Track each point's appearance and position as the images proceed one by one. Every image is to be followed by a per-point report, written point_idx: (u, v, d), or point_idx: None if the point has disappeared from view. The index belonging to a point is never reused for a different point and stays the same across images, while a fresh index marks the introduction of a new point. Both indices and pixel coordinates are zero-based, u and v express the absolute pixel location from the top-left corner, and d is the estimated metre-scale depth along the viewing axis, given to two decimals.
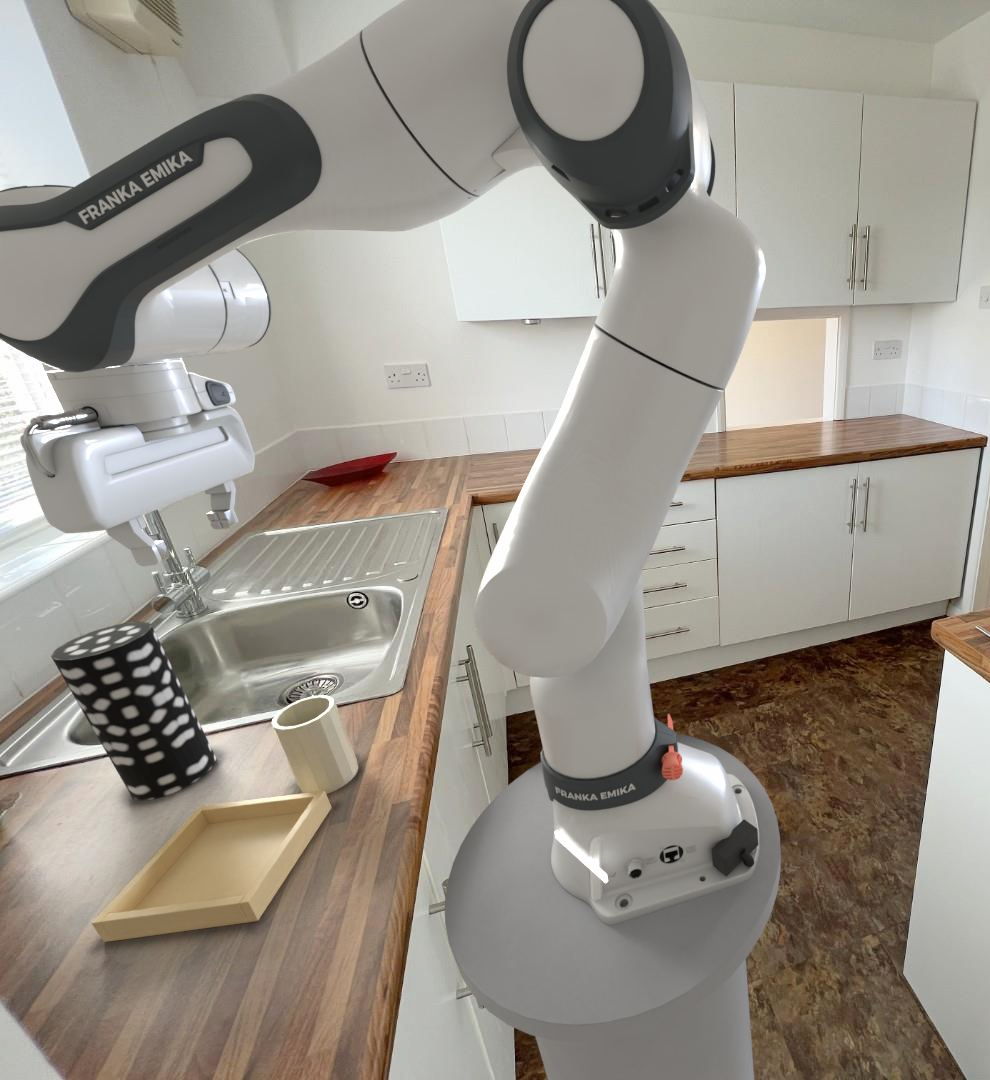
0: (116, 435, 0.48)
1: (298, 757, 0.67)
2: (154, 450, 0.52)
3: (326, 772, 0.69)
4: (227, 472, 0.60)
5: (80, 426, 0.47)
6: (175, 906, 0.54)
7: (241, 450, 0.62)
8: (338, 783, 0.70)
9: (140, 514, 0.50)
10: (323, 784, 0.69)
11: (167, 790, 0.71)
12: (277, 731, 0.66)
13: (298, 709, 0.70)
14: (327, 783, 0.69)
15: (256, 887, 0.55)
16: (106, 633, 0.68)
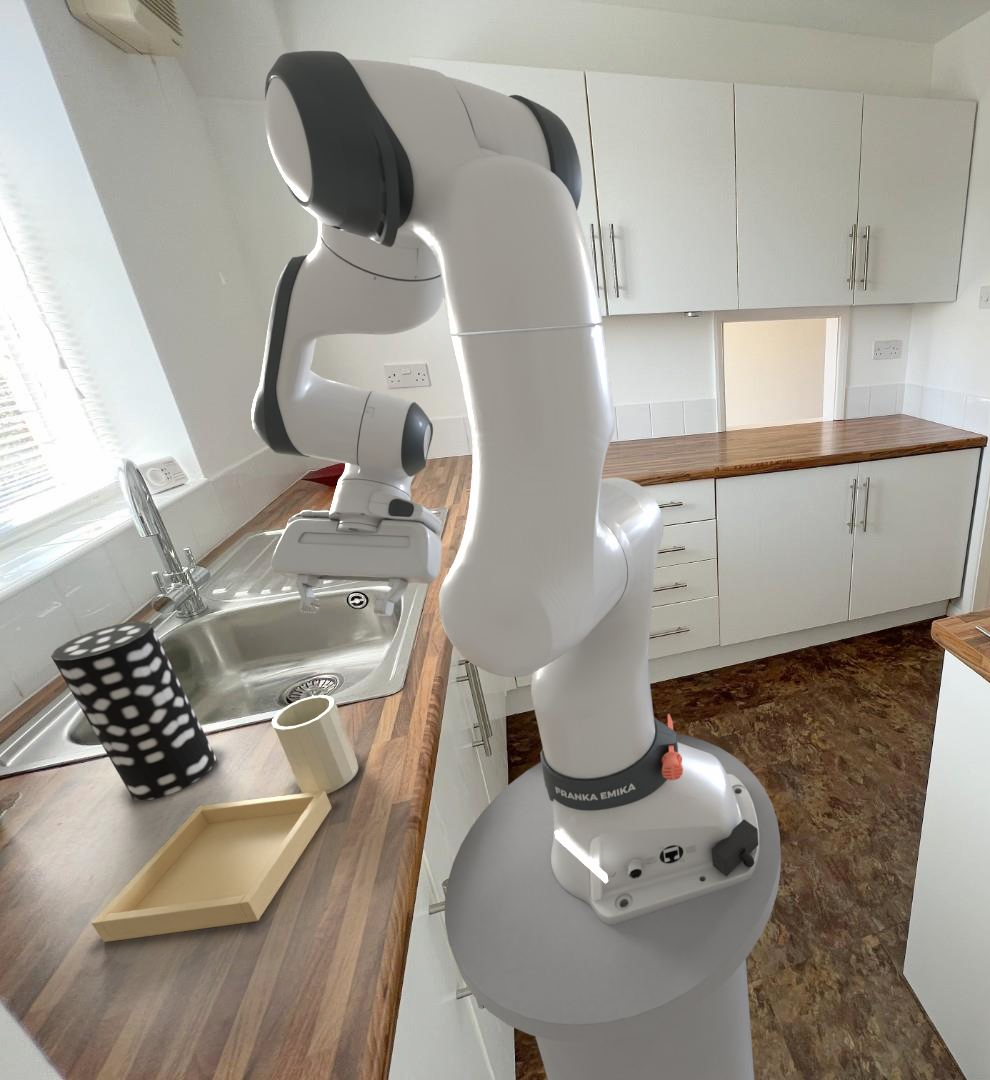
0: (320, 522, 0.76)
1: (298, 757, 0.67)
2: (342, 538, 0.76)
3: (326, 772, 0.69)
4: (388, 568, 0.74)
5: (320, 518, 0.78)
6: (175, 906, 0.54)
7: (414, 557, 0.75)
8: (338, 783, 0.70)
9: (299, 571, 0.74)
10: (323, 784, 0.69)
11: (167, 790, 0.71)
12: (277, 731, 0.66)
13: (298, 709, 0.70)
14: (327, 783, 0.69)
15: (256, 887, 0.55)
16: (106, 633, 0.68)
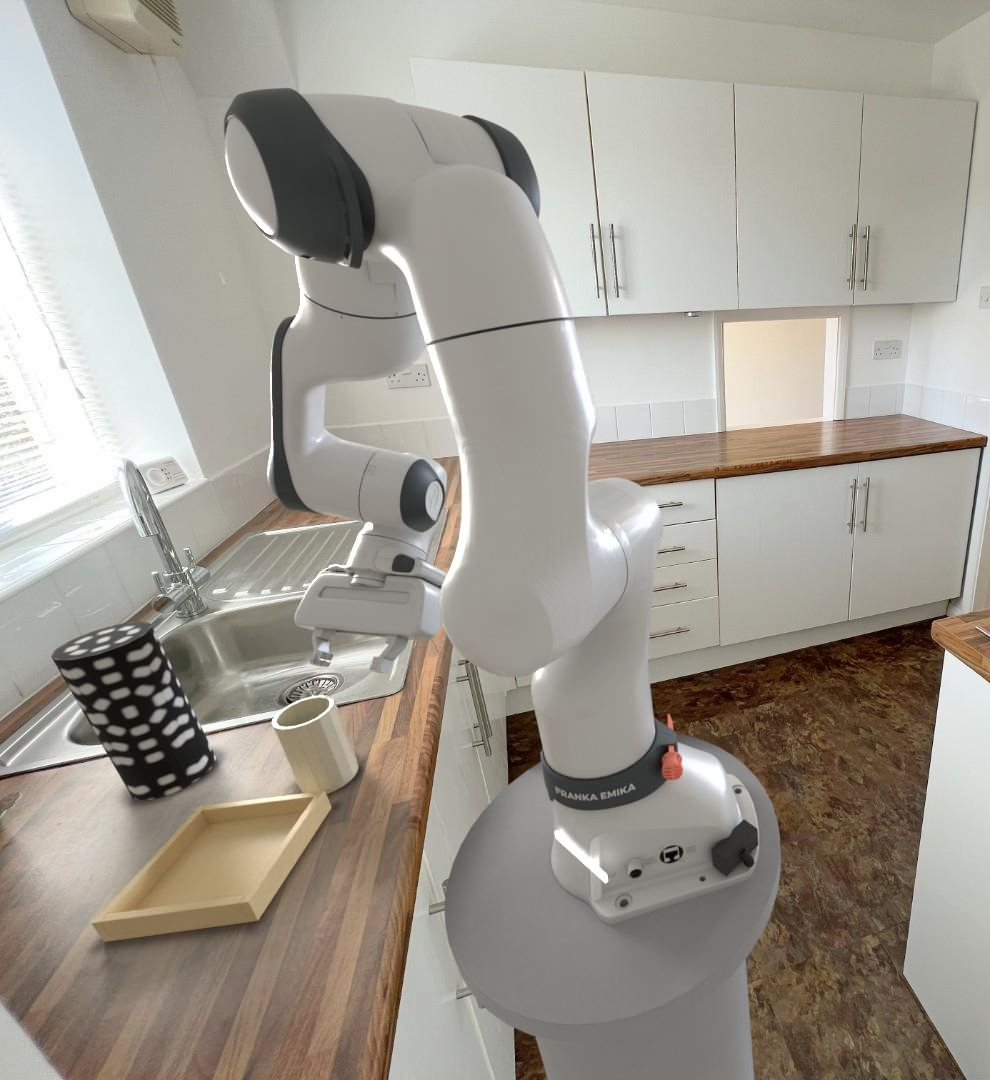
0: (338, 577, 0.78)
1: (298, 757, 0.67)
2: (354, 593, 0.77)
3: (326, 772, 0.69)
4: (386, 625, 0.73)
5: (343, 573, 0.80)
6: (175, 906, 0.54)
7: (410, 614, 0.73)
8: (338, 783, 0.70)
9: (314, 625, 0.76)
10: (323, 784, 0.69)
11: (167, 790, 0.71)
12: (277, 731, 0.66)
13: (298, 709, 0.70)
14: (327, 783, 0.69)
15: (256, 887, 0.55)
16: (106, 633, 0.68)
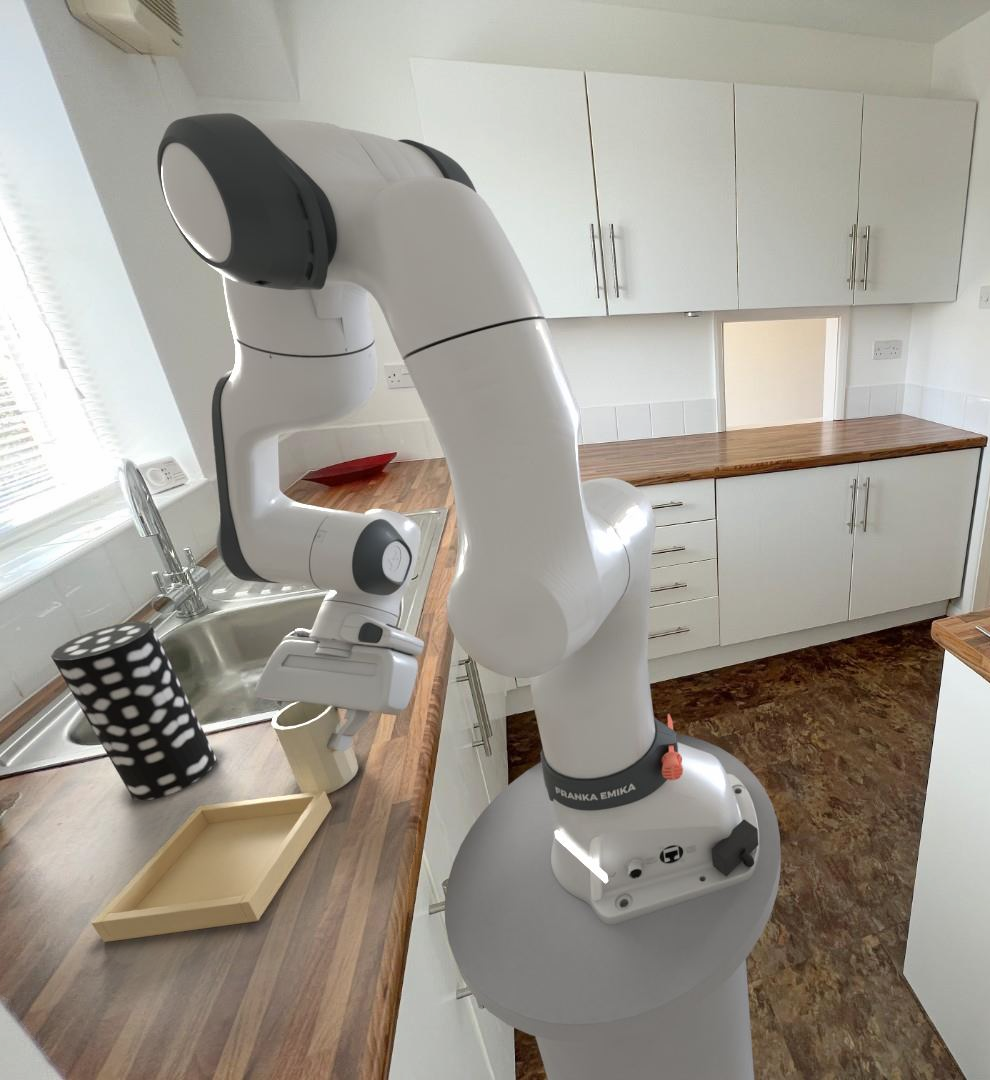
0: (303, 644, 0.73)
1: (298, 757, 0.67)
2: (319, 663, 0.72)
3: (325, 772, 0.69)
4: (352, 700, 0.69)
5: (309, 638, 0.75)
6: (175, 906, 0.54)
7: (377, 688, 0.69)
8: (338, 783, 0.70)
9: (276, 697, 0.71)
10: (323, 784, 0.69)
11: (167, 790, 0.71)
12: (277, 731, 0.66)
13: (298, 709, 0.70)
14: (327, 783, 0.69)
15: (256, 887, 0.55)
16: (106, 633, 0.68)
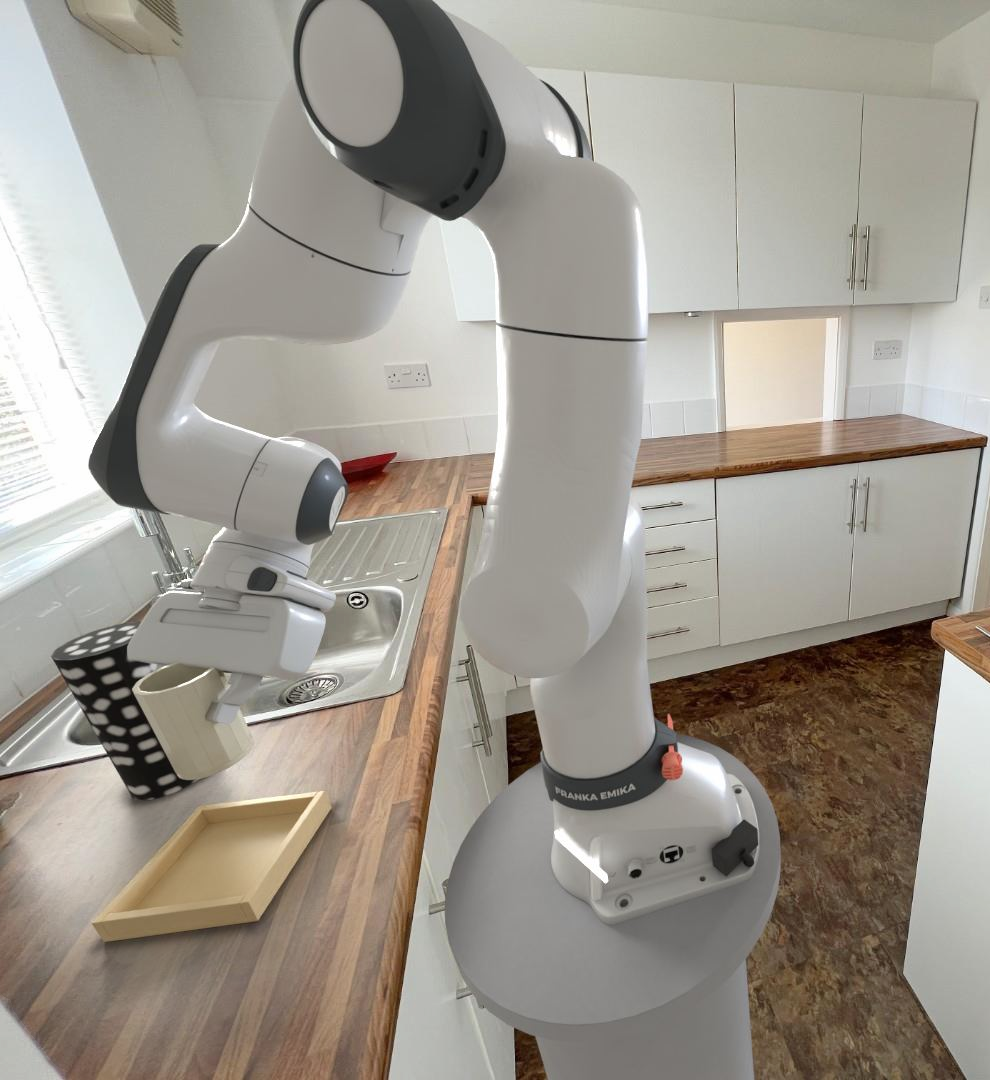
0: (187, 596, 0.60)
1: (166, 730, 0.54)
2: (204, 617, 0.59)
3: (205, 750, 0.56)
4: (237, 661, 0.56)
5: (197, 590, 0.62)
6: (175, 906, 0.54)
7: (268, 646, 0.56)
8: (222, 763, 0.57)
9: (150, 659, 0.58)
10: (202, 764, 0.56)
11: (167, 790, 0.71)
12: (137, 697, 0.53)
13: (174, 673, 0.57)
14: (207, 763, 0.56)
15: (256, 887, 0.55)
16: (106, 633, 0.68)
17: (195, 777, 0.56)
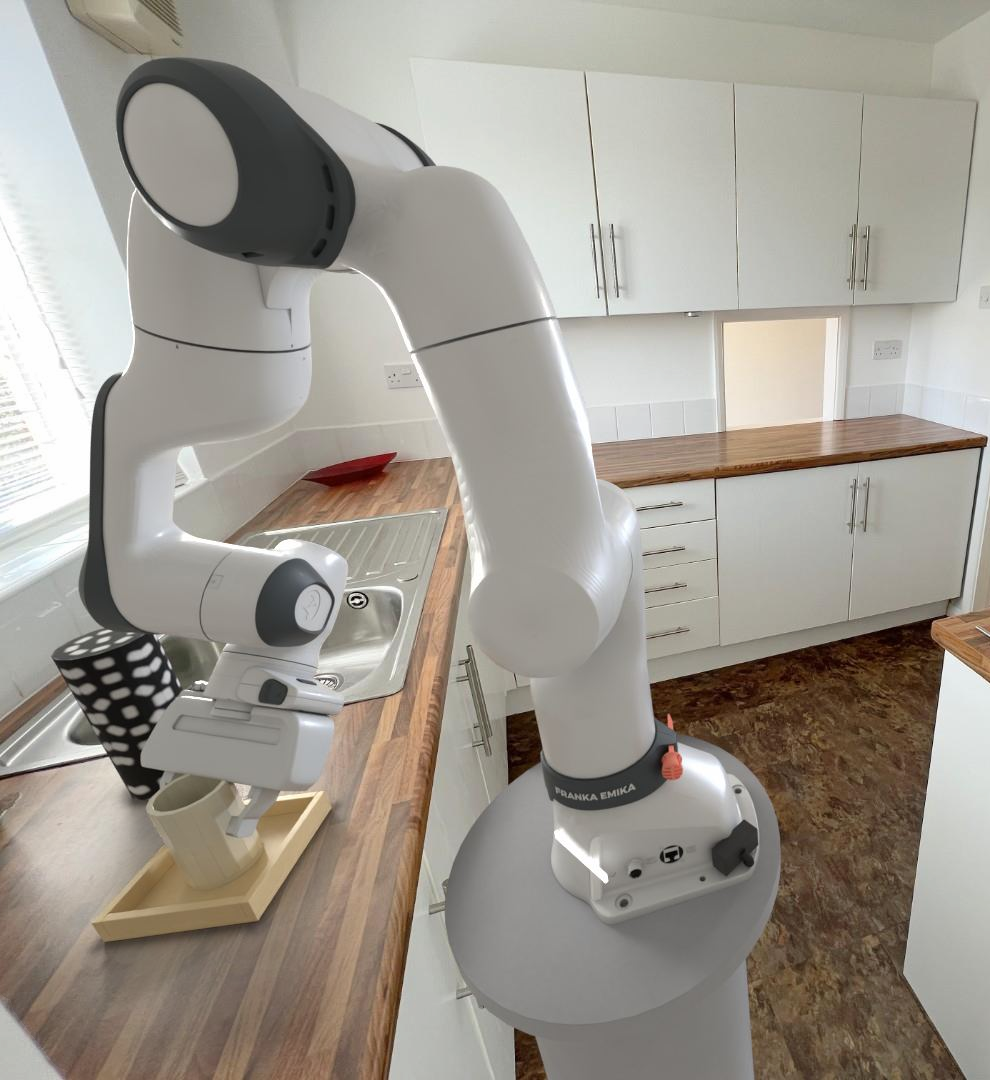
0: (198, 703, 0.62)
1: (179, 847, 0.55)
2: (215, 726, 0.60)
3: (216, 862, 0.57)
4: (248, 774, 0.57)
5: None
6: (175, 906, 0.54)
7: (279, 761, 0.57)
8: (233, 873, 0.58)
9: (163, 768, 0.60)
10: (213, 876, 0.57)
11: None
12: (151, 817, 0.54)
13: (186, 784, 0.59)
14: (218, 875, 0.58)
15: (256, 887, 0.55)
16: (106, 633, 0.68)
17: (207, 888, 0.58)
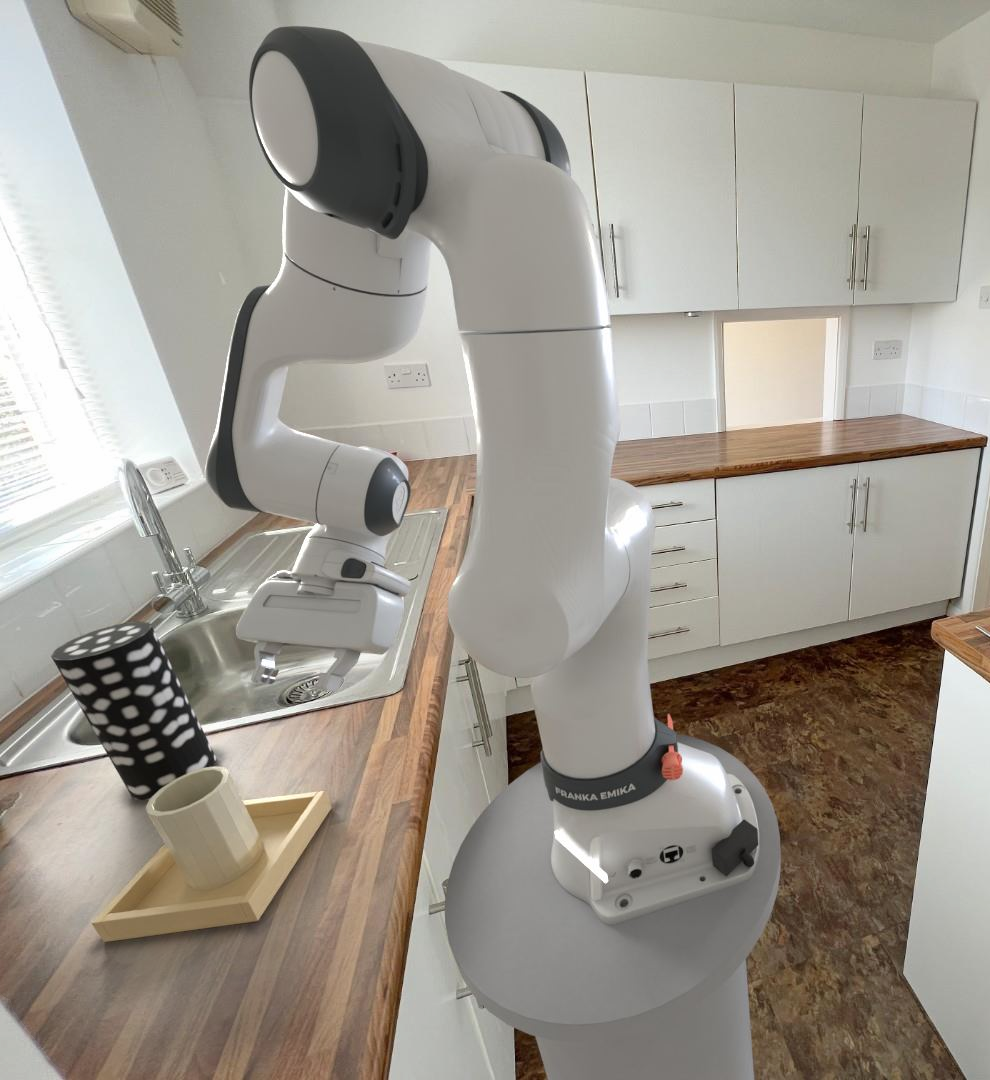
0: (285, 584, 0.71)
1: (179, 847, 0.55)
2: (301, 602, 0.69)
3: (216, 862, 0.57)
4: (334, 637, 0.66)
5: (292, 580, 0.72)
6: (175, 906, 0.54)
7: (361, 625, 0.66)
8: (233, 873, 0.58)
9: (257, 638, 0.68)
10: (213, 876, 0.57)
11: None
12: (151, 817, 0.54)
13: (186, 784, 0.59)
14: (218, 875, 0.58)
15: (256, 887, 0.55)
16: (106, 633, 0.68)
17: (207, 888, 0.58)
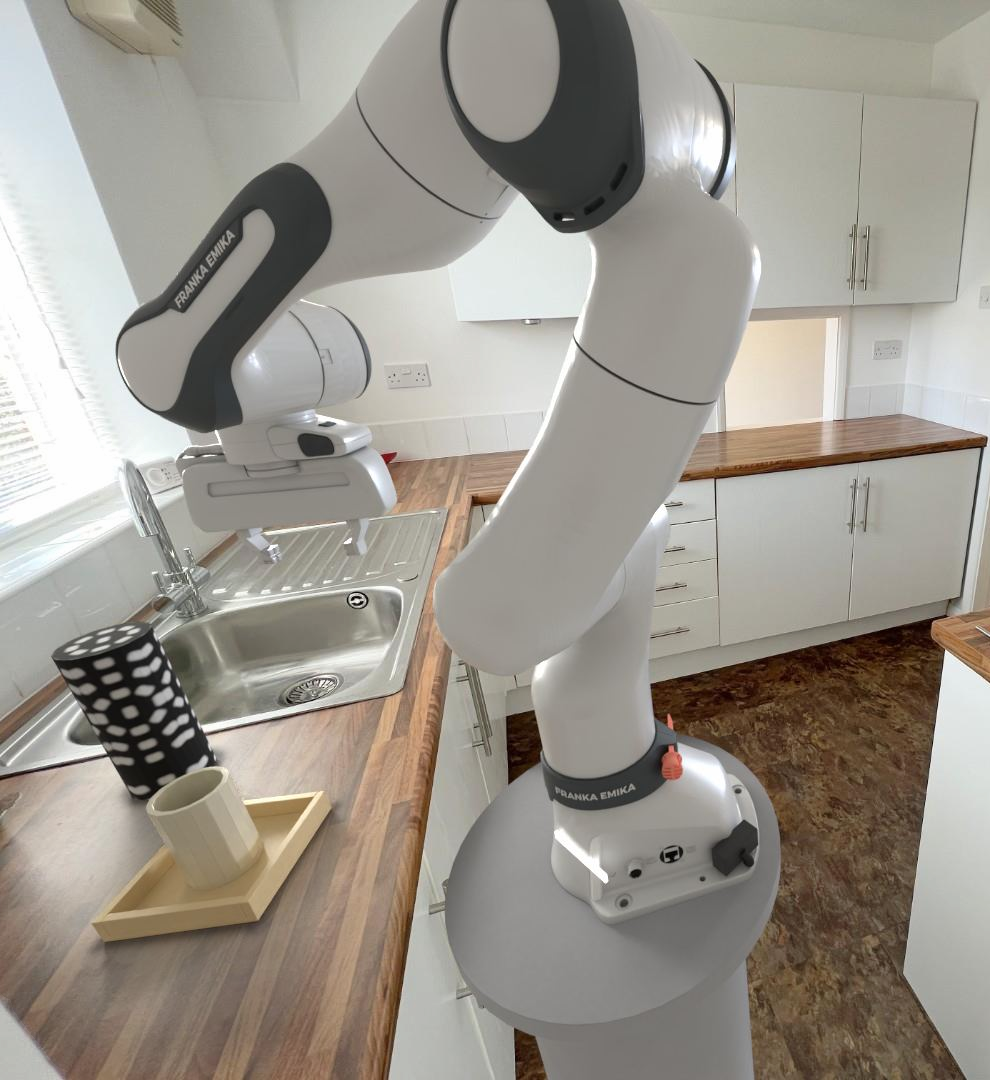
0: (220, 469, 0.61)
1: (179, 847, 0.55)
2: (261, 483, 0.62)
3: (216, 862, 0.57)
4: (339, 513, 0.64)
5: (215, 457, 0.62)
6: (175, 906, 0.54)
7: (363, 496, 0.63)
8: (233, 873, 0.58)
9: (235, 529, 0.63)
10: (213, 876, 0.57)
11: None
12: (151, 817, 0.54)
13: (186, 784, 0.59)
14: (218, 875, 0.58)
15: (256, 887, 0.55)
16: (106, 633, 0.68)
17: (207, 888, 0.58)
